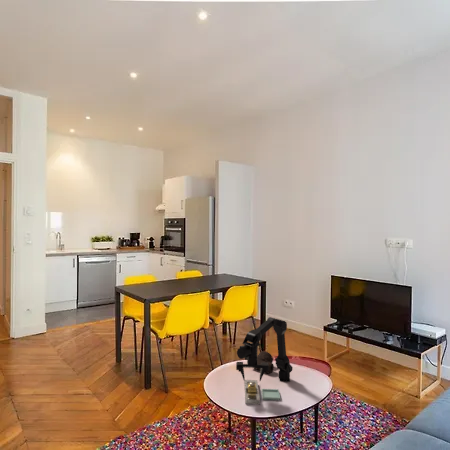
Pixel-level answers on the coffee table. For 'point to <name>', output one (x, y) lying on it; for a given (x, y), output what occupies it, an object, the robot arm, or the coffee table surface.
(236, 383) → the coffee table surface
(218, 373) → the coffee table surface
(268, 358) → the brown rounded lump
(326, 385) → the coffee table surface
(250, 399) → the grey slotted plate
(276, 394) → the parts tray
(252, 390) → the brass block with knob
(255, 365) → the robot arm
